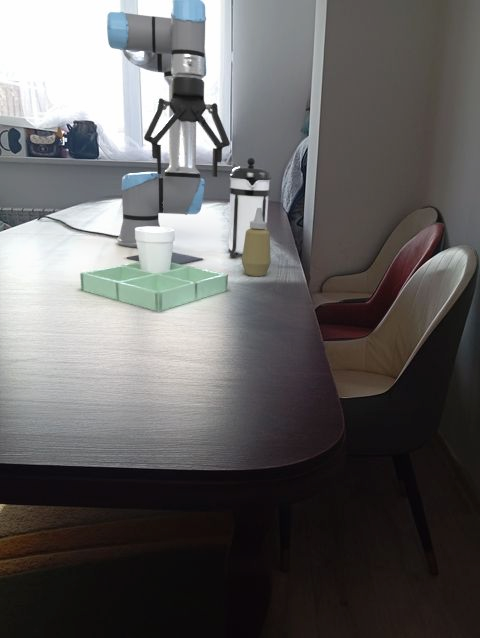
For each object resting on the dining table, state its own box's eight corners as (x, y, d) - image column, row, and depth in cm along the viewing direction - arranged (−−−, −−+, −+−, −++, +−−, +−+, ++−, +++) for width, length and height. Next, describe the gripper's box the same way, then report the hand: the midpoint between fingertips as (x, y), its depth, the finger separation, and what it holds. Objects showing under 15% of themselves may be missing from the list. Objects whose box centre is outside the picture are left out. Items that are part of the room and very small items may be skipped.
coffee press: (280, 256, 169) (287, 160, 158) (246, 262, 158) (251, 158, 147) (243, 248, 180) (247, 157, 169) (209, 252, 169) (211, 155, 158)
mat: (126, 258, 152) (126, 257, 152) (163, 251, 165) (164, 250, 165) (167, 267, 145) (167, 266, 145) (202, 259, 157) (202, 258, 157)
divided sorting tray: (81, 290, 118) (80, 272, 116) (154, 273, 137) (154, 258, 135) (158, 311, 106) (158, 293, 105) (227, 290, 125) (228, 274, 124)
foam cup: (178, 279, 133) (179, 228, 128) (169, 287, 124) (169, 233, 120) (143, 276, 133) (141, 225, 129) (131, 284, 125) (129, 230, 120)
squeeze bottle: (248, 278, 138) (252, 209, 132) (236, 271, 145) (239, 206, 139) (274, 276, 142) (279, 210, 136) (261, 270, 149) (265, 206, 142)
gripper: (132, 70, 112) (135, 173, 119) (244, 81, 118) (240, 178, 126) (131, 74, 118) (134, 171, 126) (237, 85, 125) (233, 176, 132)
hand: (187, 175), depth 126 cm, fingers open, 13 cm apart
